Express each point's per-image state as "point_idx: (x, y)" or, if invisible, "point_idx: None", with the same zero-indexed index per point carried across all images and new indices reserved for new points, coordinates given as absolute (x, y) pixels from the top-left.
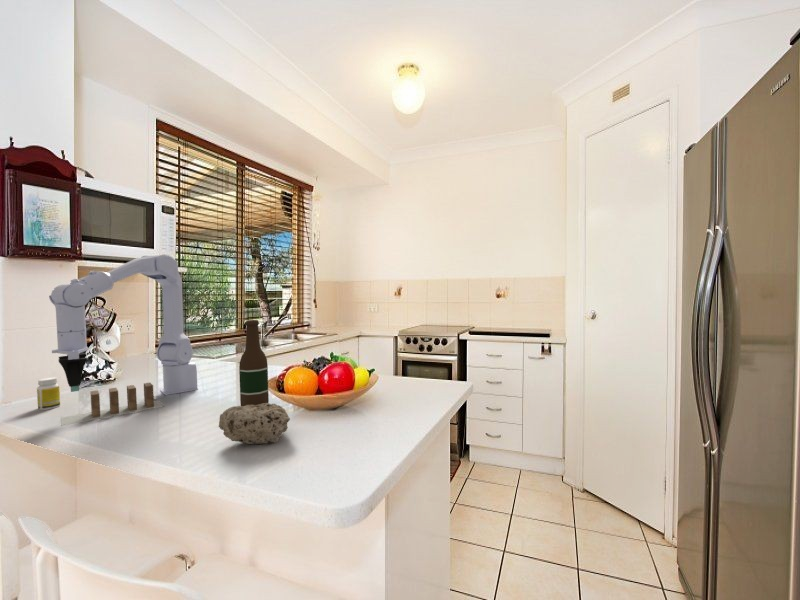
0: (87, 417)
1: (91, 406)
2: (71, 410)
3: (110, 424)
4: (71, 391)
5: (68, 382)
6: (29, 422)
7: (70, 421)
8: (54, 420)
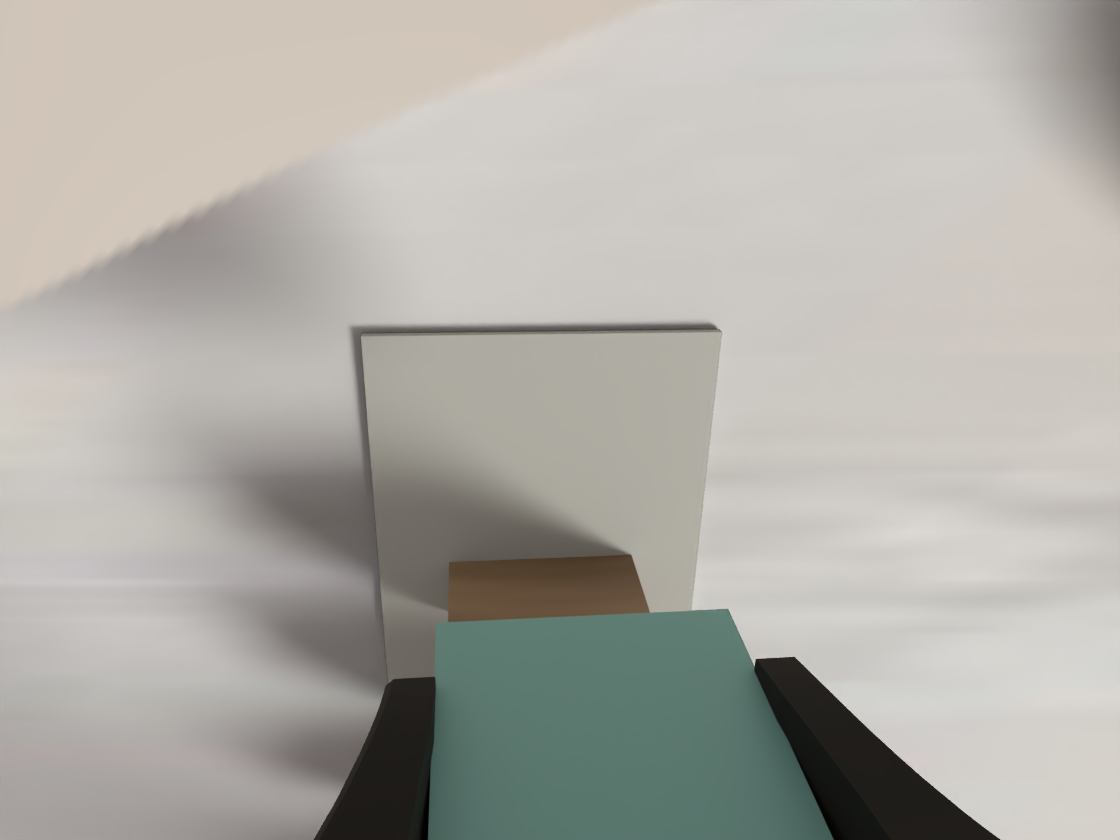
0: (508, 527)
1: (581, 612)
2: (977, 406)
3: (124, 665)
4: (439, 632)
5: (372, 730)
6: (830, 55)
7: (470, 407)
8: (688, 277)
